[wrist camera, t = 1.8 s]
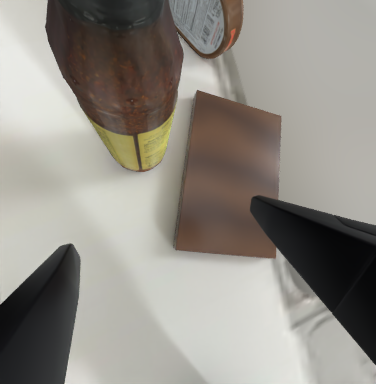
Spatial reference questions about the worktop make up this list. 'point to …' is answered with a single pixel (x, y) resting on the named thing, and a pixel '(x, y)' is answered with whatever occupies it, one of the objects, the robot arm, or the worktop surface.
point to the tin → (208, 24)
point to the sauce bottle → (120, 71)
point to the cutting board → (227, 178)
